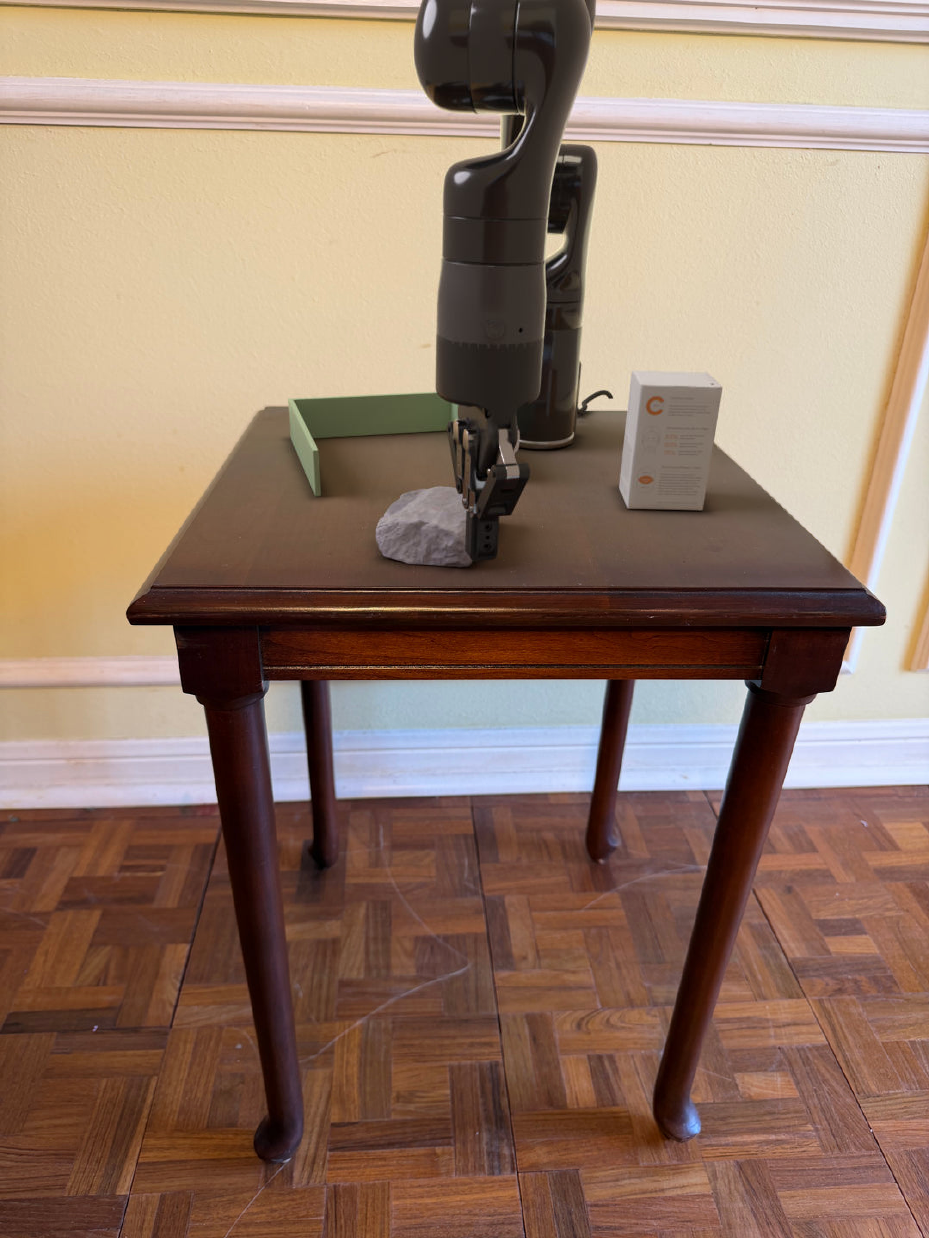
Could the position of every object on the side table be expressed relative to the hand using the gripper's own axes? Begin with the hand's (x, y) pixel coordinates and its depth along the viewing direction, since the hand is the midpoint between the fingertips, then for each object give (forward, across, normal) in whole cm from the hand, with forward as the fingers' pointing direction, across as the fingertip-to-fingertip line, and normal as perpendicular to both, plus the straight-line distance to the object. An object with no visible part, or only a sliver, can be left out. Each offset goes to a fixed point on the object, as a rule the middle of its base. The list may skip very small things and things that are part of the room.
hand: (480, 556), depth 69 cm
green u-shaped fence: (+4, +38, -1) cm, 38 cm away
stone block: (+5, +14, 0) cm, 15 cm away
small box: (+4, +19, -26) cm, 33 cm away
